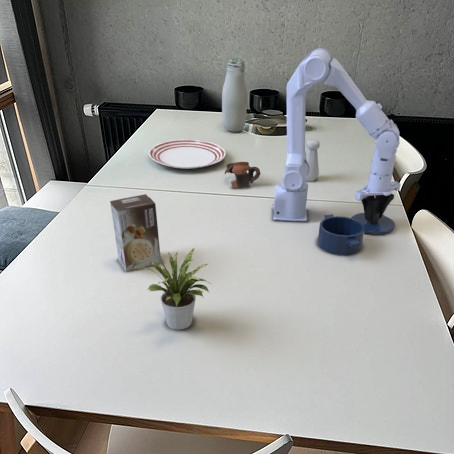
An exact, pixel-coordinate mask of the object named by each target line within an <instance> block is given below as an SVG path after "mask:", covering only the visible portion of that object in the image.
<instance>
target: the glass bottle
mask: <svg viewBox="0 0 454 454" xmlns="http://www.w3.org/2000/svg"><path fill="white" fill-rule="evenodd" d="M225 70H226V75H225V79H224V83H223V85H222V91H221V121H222V126H223V128H224V129H225V130H226V131H228V132H231V133H237V132H241V131H243V130H244V128H245V126H246V122H247V107H248V87H247V80H246V77H245V76H246V75H245V74H246V73H245V70H246V63H245V61H244V60H243V59H241V58H239V57H233V58H229V59H228V60H227V61H226V66H225Z"/></svg>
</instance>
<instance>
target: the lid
mask: <svg viewBox="0 0 454 454" xmlns="http://www.w3.org/2000/svg"><path fill="white" fill-rule="evenodd" d="M379 215H380V212H379V211H378V210H375V212H374V216H373V219H372V221H370V222H369V221H367V220H366V219H365V215H364V212H359V213H356V214H354V215H352V216H351V218H352V219H355V220H357V221H359V222H361V223H362V224H363V225H364V229H365V230H364V233H367V234H375V235H376V234H379V235H380V234H387V233H389V232H392V231H393V230H394V229H395V227H396V225H395V221H394V220H393V219H392V218H390V217H388V216H386V215H384V214H383V216H382V218H381V219H379Z"/></svg>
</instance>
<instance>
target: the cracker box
mask: <svg viewBox="0 0 454 454" xmlns="http://www.w3.org/2000/svg"><path fill="white" fill-rule="evenodd" d="M109 201H110V210H111V217H112V222H113V229H114V230H113V231H114V237H115V245H116V250H117V251H116V252H117V260H118V262H119V263H120V265H121V266H122V267H123V268H124V270H125V271H126V272H130V271H133V270H137V269H139V268H137V267H145V268H146V267H149V266H153V265H152V264H151V263H152V262H155V263H156V264H157V265H158V264H161V263H160V262H162V258H161V257H162V256H161V248H160V237H159V229H158V228H159V227H158V226H159V225H158V216H157V206H156V202H155V201H154V200H153V199H152V198H151V197H150V196H148V194H147V193H145V194H139V195H134V196H129V197H124V198H119V199H114V200H109ZM153 259H154V260H153ZM156 260H158V261H160V262H158V261H156ZM151 261H152V262H151ZM150 262H151V263H150Z"/></svg>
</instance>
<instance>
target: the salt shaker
mask: <svg viewBox="0 0 454 454" xmlns="http://www.w3.org/2000/svg"><path fill="white" fill-rule="evenodd" d="M320 146H321V143H320V141H319V140H318V139H313V138H312V139H307V141H306V142H305V148H306V149H307V150H306V159H307V162H308V164H309V167H310V171H309V174H308V175H307V177H306V182H315V181H316V180H317V178H318V177H319V174H320V168H319V155H318V153H319V152H318V149H320Z"/></svg>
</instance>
